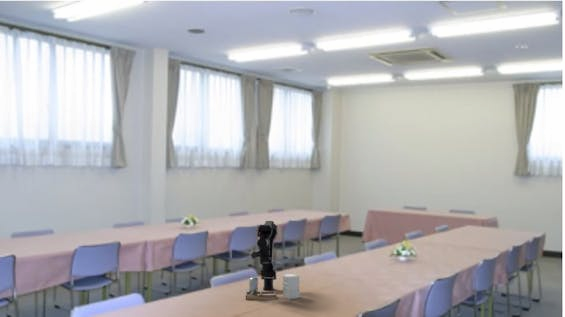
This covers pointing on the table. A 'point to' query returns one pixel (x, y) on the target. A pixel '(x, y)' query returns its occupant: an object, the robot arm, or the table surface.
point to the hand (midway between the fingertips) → (264, 272)
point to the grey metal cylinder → (253, 286)
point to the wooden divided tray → (261, 296)
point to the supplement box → (291, 286)
